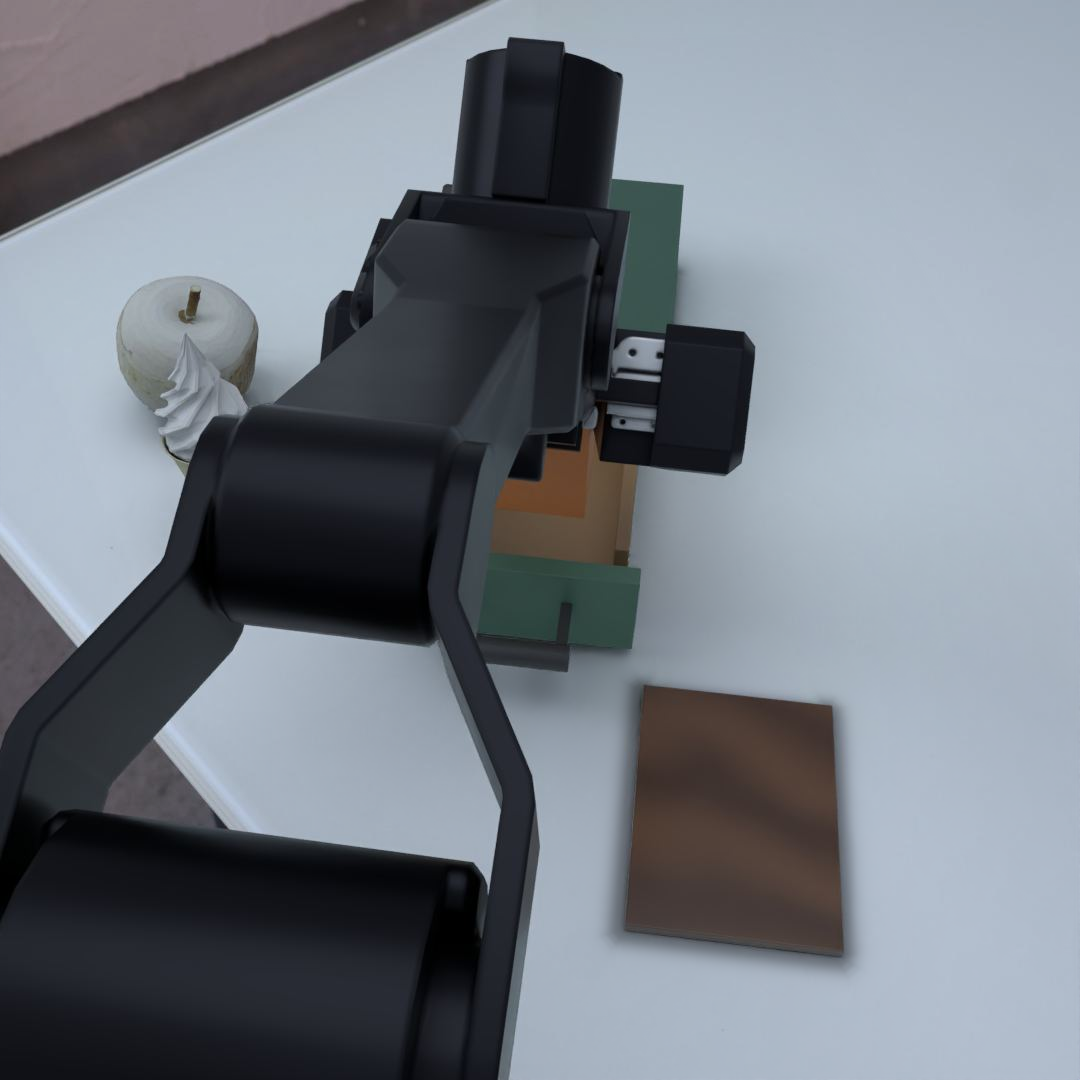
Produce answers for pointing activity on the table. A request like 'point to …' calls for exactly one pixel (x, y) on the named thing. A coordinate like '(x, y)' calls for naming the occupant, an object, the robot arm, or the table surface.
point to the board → (736, 822)
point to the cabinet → (649, 252)
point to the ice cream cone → (194, 403)
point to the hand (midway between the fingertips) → (547, 402)
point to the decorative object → (159, 329)
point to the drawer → (562, 577)
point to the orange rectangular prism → (554, 484)
